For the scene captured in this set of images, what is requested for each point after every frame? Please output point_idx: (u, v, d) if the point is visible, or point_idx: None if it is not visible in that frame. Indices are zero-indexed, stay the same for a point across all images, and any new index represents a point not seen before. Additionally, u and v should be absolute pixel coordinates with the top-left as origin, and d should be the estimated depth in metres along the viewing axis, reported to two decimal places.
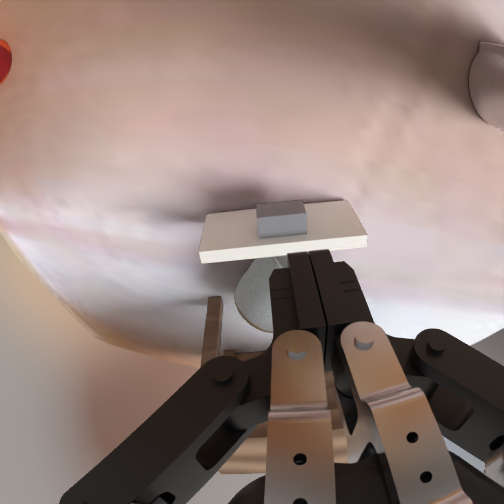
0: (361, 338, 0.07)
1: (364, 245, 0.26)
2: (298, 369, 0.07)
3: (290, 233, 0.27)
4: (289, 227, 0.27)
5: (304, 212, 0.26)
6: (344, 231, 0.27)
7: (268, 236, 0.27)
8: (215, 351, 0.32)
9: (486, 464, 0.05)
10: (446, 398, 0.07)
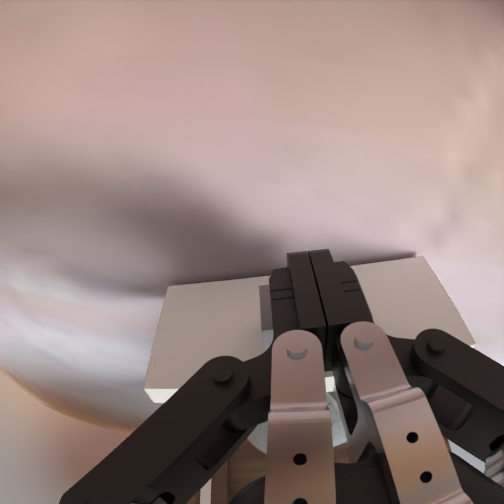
0: (361, 338, 0.07)
1: None
2: (298, 369, 0.07)
3: None
4: None
5: None
6: None
7: None
8: None
9: (486, 464, 0.05)
10: (446, 398, 0.07)
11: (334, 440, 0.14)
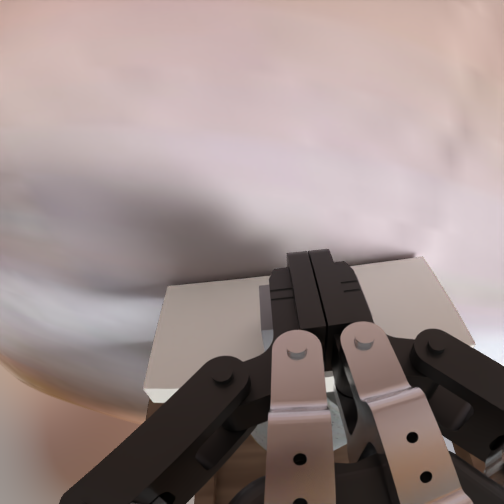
0: (361, 338, 0.07)
1: None
2: (298, 369, 0.07)
3: None
4: None
5: None
6: None
7: None
8: None
9: (486, 464, 0.05)
10: (446, 398, 0.07)
11: (338, 440, 0.14)
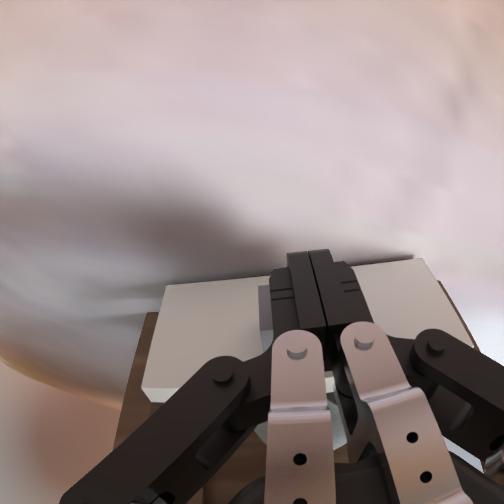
0: (361, 338, 0.07)
1: None
2: (298, 369, 0.07)
3: None
4: None
5: None
6: None
7: None
8: None
9: (486, 464, 0.05)
10: (446, 398, 0.07)
11: (340, 437, 0.13)
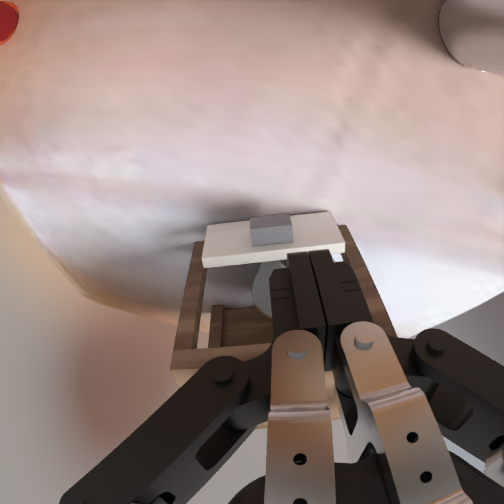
0: (361, 338, 0.07)
1: (342, 251, 0.31)
2: (298, 369, 0.07)
3: (278, 242, 0.32)
4: (277, 237, 0.31)
5: (290, 224, 0.31)
6: (325, 239, 0.32)
7: (260, 244, 0.32)
8: (198, 286, 0.32)
9: (486, 464, 0.05)
10: (446, 398, 0.07)
11: None
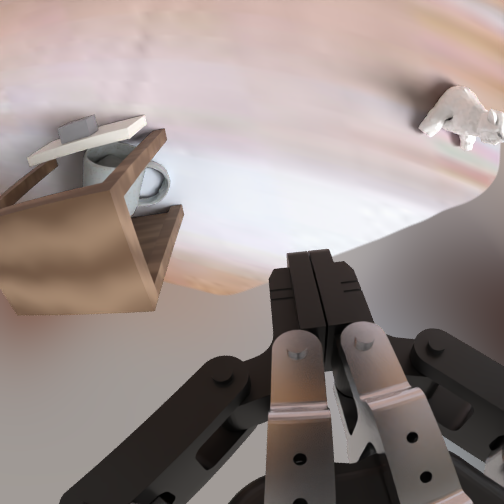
0: (361, 338, 0.07)
1: (127, 137, 0.30)
2: (298, 369, 0.07)
3: (79, 137, 0.30)
4: (77, 132, 0.30)
5: (85, 119, 0.30)
6: (114, 129, 0.30)
7: (66, 141, 0.31)
8: (22, 180, 0.30)
9: (486, 464, 0.05)
10: (446, 398, 0.07)
11: None
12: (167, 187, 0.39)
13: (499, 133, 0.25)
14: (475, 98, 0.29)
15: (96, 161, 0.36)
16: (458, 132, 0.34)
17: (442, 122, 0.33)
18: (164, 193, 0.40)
